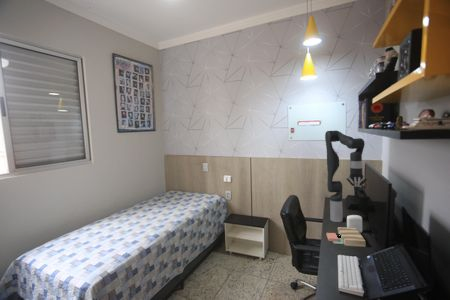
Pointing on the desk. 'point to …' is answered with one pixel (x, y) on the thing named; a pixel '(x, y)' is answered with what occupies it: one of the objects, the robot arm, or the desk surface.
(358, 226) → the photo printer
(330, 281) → the desk surface
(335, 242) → the mat
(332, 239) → the card
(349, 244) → the deck
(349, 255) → the desk surface
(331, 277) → the desk surface
